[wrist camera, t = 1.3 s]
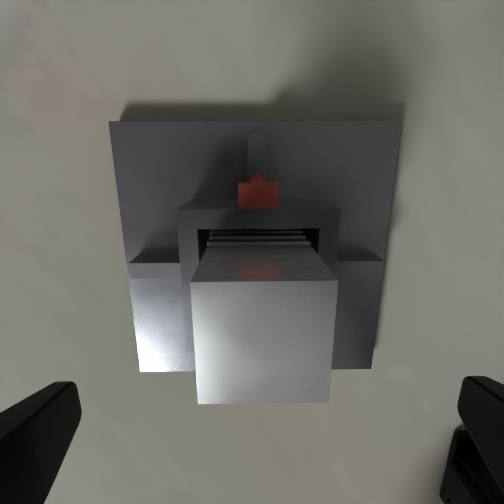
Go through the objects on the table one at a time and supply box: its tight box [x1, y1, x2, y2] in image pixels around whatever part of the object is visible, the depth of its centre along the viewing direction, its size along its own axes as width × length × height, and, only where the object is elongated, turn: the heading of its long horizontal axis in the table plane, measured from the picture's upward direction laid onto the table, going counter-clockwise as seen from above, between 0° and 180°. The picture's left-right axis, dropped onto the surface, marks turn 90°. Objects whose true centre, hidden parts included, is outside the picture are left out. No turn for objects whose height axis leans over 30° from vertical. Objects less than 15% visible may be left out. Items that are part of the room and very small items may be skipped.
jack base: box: [109, 121, 402, 372], centre depth 15 cm, size 14×14×4 cm
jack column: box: [190, 228, 338, 404], centre depth 12 cm, size 4×4×8 cm
